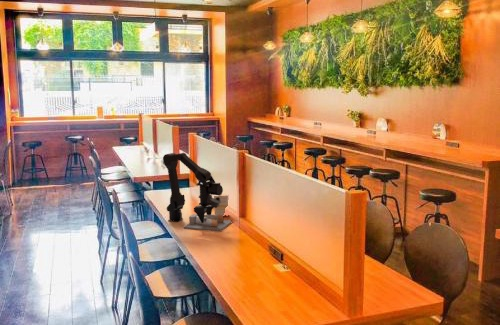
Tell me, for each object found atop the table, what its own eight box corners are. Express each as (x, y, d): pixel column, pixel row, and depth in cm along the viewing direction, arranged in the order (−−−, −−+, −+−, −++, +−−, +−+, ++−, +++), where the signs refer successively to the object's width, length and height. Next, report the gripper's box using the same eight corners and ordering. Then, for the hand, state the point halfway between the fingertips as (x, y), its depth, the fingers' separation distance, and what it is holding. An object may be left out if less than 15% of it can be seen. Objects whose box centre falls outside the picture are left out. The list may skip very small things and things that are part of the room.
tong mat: (183, 228, 274) (183, 219, 273) (197, 219, 292) (197, 211, 291) (220, 231, 267) (220, 222, 266) (232, 222, 285) (232, 213, 284)
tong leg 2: (198, 221, 282) (198, 215, 282) (199, 221, 283) (199, 214, 283) (223, 222, 281) (223, 215, 280) (223, 221, 282) (223, 214, 282)
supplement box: (229, 214, 301) (228, 193, 298) (228, 217, 296) (227, 195, 294) (215, 214, 301) (215, 193, 299) (214, 216, 297) (213, 195, 294)
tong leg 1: (196, 223, 279) (195, 216, 279) (197, 222, 280) (197, 216, 280) (216, 227, 272) (215, 219, 271) (217, 226, 273) (217, 219, 272)
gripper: (211, 198, 266) (212, 226, 268) (224, 190, 283) (225, 217, 286) (192, 197, 269) (193, 224, 272) (206, 189, 287) (207, 215, 289)
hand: (205, 220), depth 279 cm, fingers open, 9 cm apart
